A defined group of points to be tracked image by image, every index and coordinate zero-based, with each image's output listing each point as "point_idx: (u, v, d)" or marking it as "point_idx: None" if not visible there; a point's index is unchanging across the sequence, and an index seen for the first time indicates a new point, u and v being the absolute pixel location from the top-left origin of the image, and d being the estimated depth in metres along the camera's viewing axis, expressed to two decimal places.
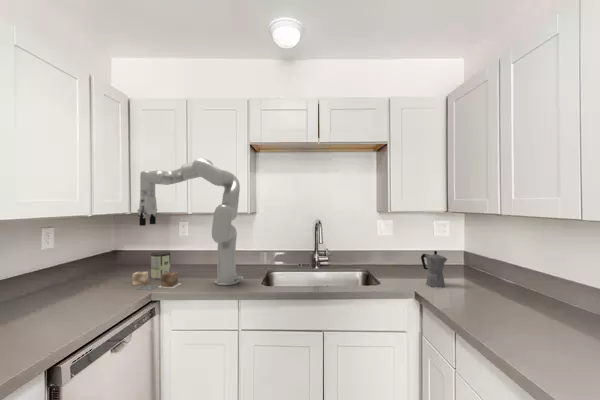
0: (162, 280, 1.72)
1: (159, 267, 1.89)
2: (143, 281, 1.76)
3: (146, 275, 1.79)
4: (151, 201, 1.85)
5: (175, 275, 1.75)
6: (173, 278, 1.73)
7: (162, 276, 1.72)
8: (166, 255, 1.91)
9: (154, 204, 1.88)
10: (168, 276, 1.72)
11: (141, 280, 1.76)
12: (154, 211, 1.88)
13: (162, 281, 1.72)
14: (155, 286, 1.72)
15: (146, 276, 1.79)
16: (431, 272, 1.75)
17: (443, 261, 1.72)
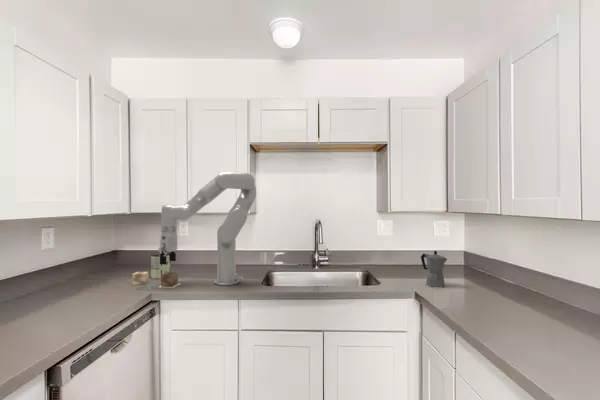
0: (162, 280, 1.72)
1: (159, 267, 1.89)
2: (143, 281, 1.76)
3: (146, 275, 1.79)
4: (172, 238, 1.73)
5: (175, 275, 1.75)
6: (173, 278, 1.73)
7: (162, 276, 1.72)
8: (166, 255, 1.91)
9: (175, 240, 1.76)
10: (168, 276, 1.72)
11: (141, 280, 1.76)
12: (175, 248, 1.76)
13: (162, 281, 1.72)
14: (155, 286, 1.72)
15: (146, 276, 1.79)
16: (431, 272, 1.75)
17: (443, 261, 1.72)
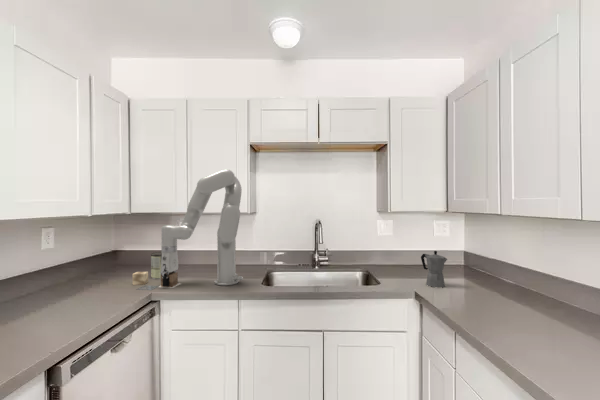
0: (162, 280, 1.72)
1: (159, 267, 1.89)
2: (143, 281, 1.76)
3: (146, 275, 1.79)
4: (173, 258, 1.73)
5: (175, 275, 1.75)
6: (173, 278, 1.73)
7: None
8: None
9: (176, 260, 1.77)
10: None
11: (141, 280, 1.76)
12: (176, 267, 1.76)
13: (162, 281, 1.72)
14: (155, 286, 1.72)
15: (146, 276, 1.79)
16: (431, 272, 1.75)
17: (443, 261, 1.72)
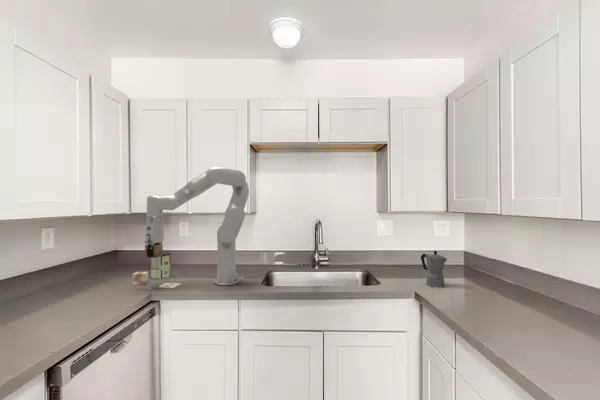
0: (146, 251, 1.69)
1: (159, 267, 1.89)
2: (143, 281, 1.76)
3: (146, 275, 1.79)
4: (158, 229, 1.70)
5: (160, 246, 1.72)
6: (157, 249, 1.69)
7: None
8: (166, 255, 1.91)
9: (161, 231, 1.73)
10: None
11: (141, 280, 1.76)
12: (161, 239, 1.73)
13: (146, 252, 1.69)
14: (155, 286, 1.72)
15: (146, 276, 1.79)
16: (431, 272, 1.75)
17: (443, 261, 1.72)
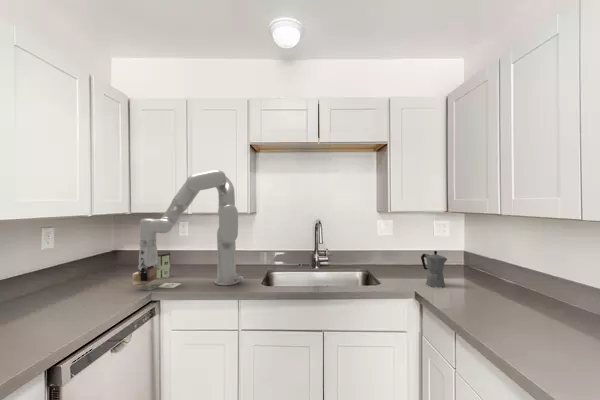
0: (140, 275, 1.67)
1: (159, 267, 1.89)
2: None
3: None
4: (152, 252, 1.68)
5: (154, 270, 1.70)
6: (151, 273, 1.68)
7: None
8: (166, 255, 1.91)
9: (155, 254, 1.71)
10: None
11: None
12: (155, 262, 1.71)
13: (140, 276, 1.67)
14: (155, 286, 1.72)
15: None
16: (431, 272, 1.75)
17: (443, 261, 1.72)
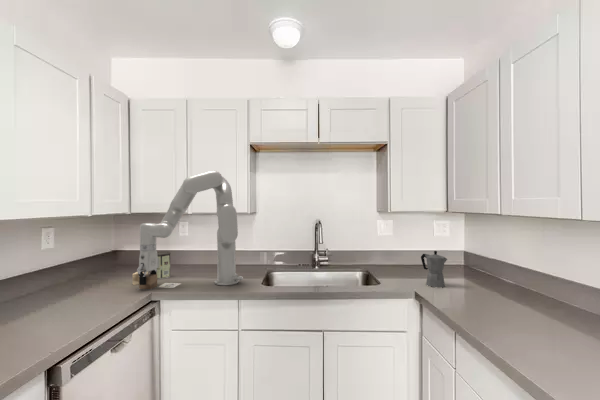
0: None
1: (159, 267, 1.89)
2: None
3: None
4: (152, 257, 1.68)
5: (154, 277, 1.70)
6: (152, 280, 1.68)
7: None
8: (166, 255, 1.91)
9: (155, 259, 1.71)
10: (147, 278, 1.67)
11: None
12: (155, 266, 1.71)
13: None
14: None
15: None
16: (431, 272, 1.75)
17: (443, 261, 1.72)
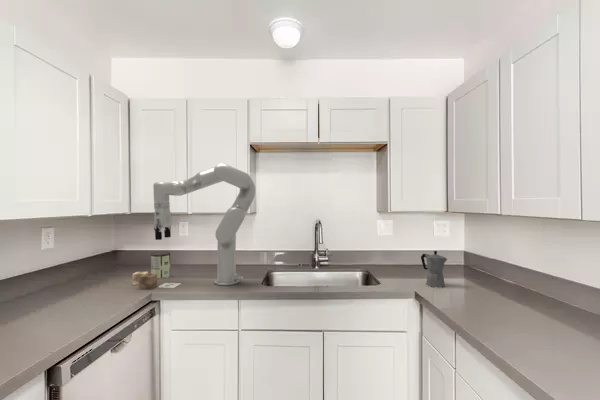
0: (140, 282, 1.67)
1: (159, 267, 1.89)
2: None
3: None
4: (166, 214, 1.76)
5: (154, 277, 1.70)
6: (152, 280, 1.68)
7: (141, 278, 1.67)
8: (166, 255, 1.91)
9: (169, 216, 1.80)
10: (147, 278, 1.67)
11: None
12: (169, 224, 1.80)
13: (141, 283, 1.67)
14: None
15: None
16: (431, 272, 1.75)
17: (443, 261, 1.72)
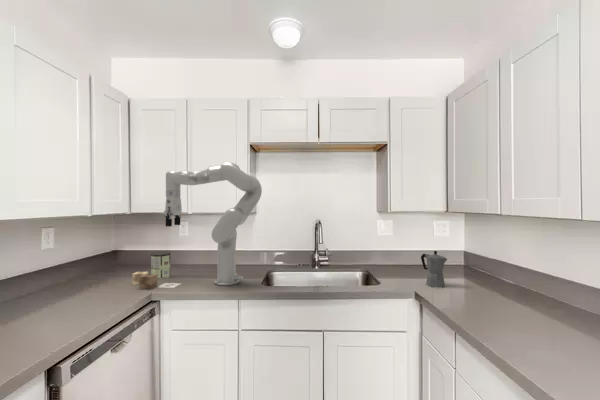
0: (140, 282, 1.67)
1: (159, 267, 1.89)
2: None
3: None
4: (177, 202, 1.84)
5: (154, 277, 1.70)
6: (152, 280, 1.68)
7: (141, 278, 1.67)
8: (166, 255, 1.91)
9: (179, 205, 1.87)
10: (147, 278, 1.67)
11: None
12: (179, 212, 1.87)
13: (141, 283, 1.67)
14: None
15: None
16: (431, 272, 1.75)
17: (443, 261, 1.72)
